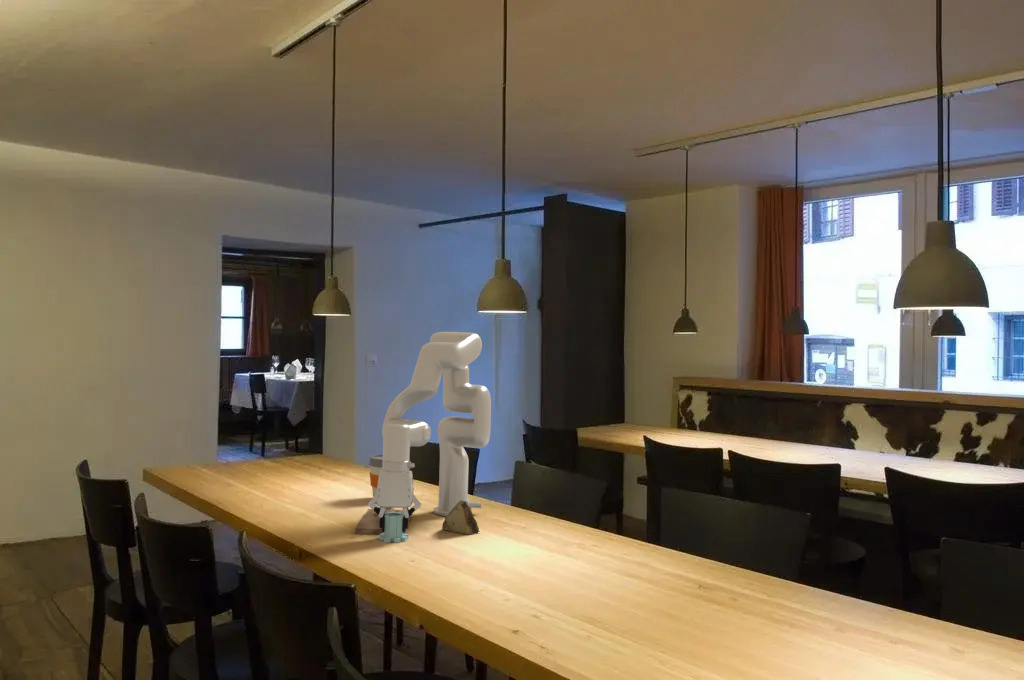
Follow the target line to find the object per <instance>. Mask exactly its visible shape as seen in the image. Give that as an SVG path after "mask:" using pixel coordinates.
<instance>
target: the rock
mask: <svg viewBox="0 0 1024 680" xmlns="http://www.w3.org/2000/svg"><path fill="white" fill-rule="evenodd" d="M444 517H445V518H444V520H443V523H442V525H441V530H442V531H443V530H444V531H447V530H449V531H448V532H451V531H455V532H454V533H456V532H459V533H458V534H462V533H465V534H464V535H475V534H474V533H477V534H479V533H478V532H480V528H479V525H478V522H477V520H476V519H475V517H474V514H473V511H472V512H471V510H470V508H469V506H468V505H467V503H466V502H465V501H462V500H461V501H460V502H458V503H457V504H456V505H455V507H454V508H453V509H452V510H451V511H450V512H449V514H448V515H447V516H444ZM480 533H481V532H480Z"/></svg>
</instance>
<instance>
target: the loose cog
mask: <svg viewBox="0 0 1024 680" xmlns="http://www.w3.org/2000/svg"><path fill="white" fill-rule="evenodd" d="M403 517H404V513H401V512H389V513H385V526H384V533H382V534H379V535H378V540H379V541H381V542H382V541H383V543H388V544H390V543H392V542H393V543H395V544H396V543H401V542H406V541H408V539H409V534H408V533H405V534H403V532H402V528H403Z"/></svg>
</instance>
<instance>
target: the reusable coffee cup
mask: <svg viewBox="0 0 1024 680" xmlns="http://www.w3.org/2000/svg"><path fill="white" fill-rule="evenodd" d="M368 463H369V464H368V465H369V467H370V472H369V481H370V486H371V490H372V499H373V498H374V496H375V495H376V494H377V486H378V479H379V474H380V471H381V470H382V466H383V454H374V455H370V457H369V462H368Z"/></svg>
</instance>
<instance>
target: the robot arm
mask: <svg viewBox="0 0 1024 680" xmlns="http://www.w3.org/2000/svg"><path fill="white" fill-rule="evenodd" d="M482 348H483V343H482V338H481V336H479V334H477V333H475V332H466V331H465V332H464V331H463V332H462V331H439V332H438V331H437V332H434V333H433V334H431V336H430V338H429V342H428V343H425V344H424V345H422V347H421V349H420V351H419V354H418V358H417V360H416V364H415V368H414V371H413V374H412V377H411V381H410V384H409V385H408V386H407V387H406V388H405V389H404V390H402V391H401V392H399V393H398V395H397V396H396V397H395V398H394V400H392V401H391V403H390V404H389V406H388V408H387V411H386V414H385V415H384V416H385V417H384V420H383V422H382V423H383V424H382V428H381V429H382V430H381V434H382V439H383V440H382V443H383V444H382V455H383V466H382V470H381V471H380V474H379V479H378V486H377V494H376V495H375V496H374V498H373V497H372V499H371V500H370V501H369V502H368V504H367V506H368V507H370V509H373V510H374V511H375V512H376V513H377V514H378V515H379V517H380V528H382V532H384V526H385V510H386V507H392V508H394V509H395V508H397V509H399V508H401V510H403V512H404V517H403V528H402V532H405V533H406V530H407V529H409V523H408V518H409V516H410V515H411V514H412V515H413V513H415V512H416V511H417V510H418V509H419V508H421V505H422V503H421V502H420V500H419V499H418V498H417V497H416V496H415V494H414V478H413V471H412V470H410V469H413V468H415V462H412V461H411V460H410V455H411V454H410V452H411V447H416V448H417V447H422V446H425V445H426V444H427V443H428V442H429V441H430V439H431V435H432V429H431V427H430V425H429V424H428V423H427V422H425V421H423V420H416V419H415V420H414V419H403V418H402V417H403V415H404V414H405V413H406V411H407V410H408V409H410V408H411V407H413V406H415V405H417V404H419V403H422V402H424V401H427V400H429V399H431V398H433V397H435V396H436V395H437V394H438V392H439V387H440V385H441V380H442V377H443V380H442V381H443V383H442V384H443V385H442V397H443V398H442V402H443V403H442V404H443V407H444V409H445V410H446V411H447V412H451V413H459V414H460V413H461V414H471V415H472V417H466V416H456V415H454V416H452V415H451V416H446V417H443V418H442V419H441V420H440V421H439V423H438V426H437V437H438V443H439V445H438V446H439V475H438V477H439V482H438V501H437V503H438V504H437V505H438V506H435V507H434V508H433V513H434V514H436V515H438V516H443V517H446V516H447V515H448V514H449V512H450V511H451V510H452V509H453V508H454V507H455V505H456V504H457V503H458V502H460V501H461V500H462V501H465V502H466V503H467V505H468V506H469V508H470V510H471V512H472V513H473V509H481V508H482V502H481V501H480V502H479V501H476V500H475V501H471V500H469V496H468V493H469V462H470V460H469V456H468V454H467V451H466V450H465V448H464V447H467V448H477V449H478V448H484V447H486V446H488V444H489V441H490V438H491V430H492V429H491V427H492V426H491V424H492V423H491V422H492V396H491V393H490V391H489V389H488V387H486V386H485V385H481V384H471V383H470V367H469V365H470V364H471V363H472V362H473V363H474V361H476V360H477V358H478V357H479V356H480V355H481V353H482ZM413 504H414V505H413ZM412 505H413V506H412ZM379 507H381V509H380V508H379ZM409 508H410V509H409Z"/></svg>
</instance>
